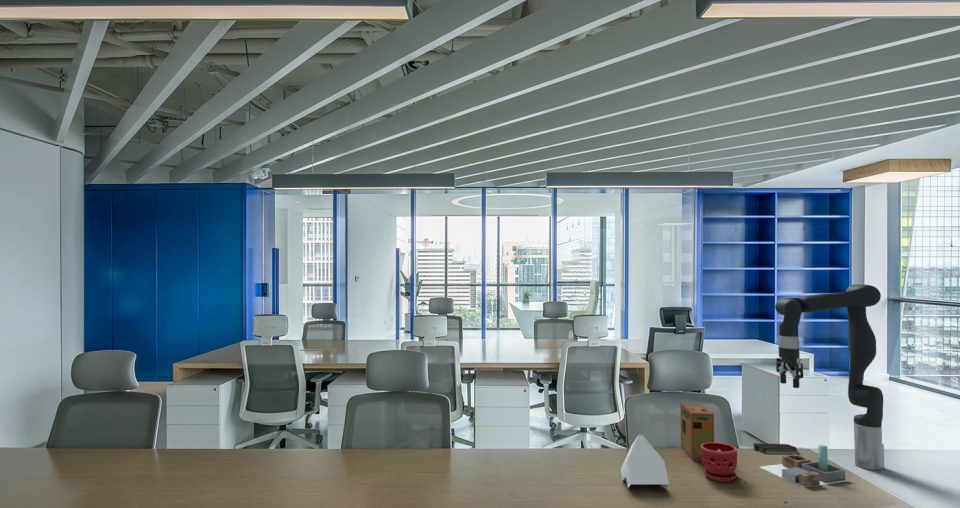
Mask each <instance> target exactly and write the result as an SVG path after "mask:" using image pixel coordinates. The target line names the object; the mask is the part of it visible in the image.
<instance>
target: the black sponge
mask: <svg viewBox="0 0 960 508" xmlns="http://www.w3.org/2000/svg"><path fill="white" fill-rule="evenodd" d="M752 445H753V448H754V450H755V449H756V450H755V451H757V452H760V453H763V454H798V449H797V446H795V445H791V444H788V443H759V442H758V443H755V442H754V443H753V444H752Z"/></svg>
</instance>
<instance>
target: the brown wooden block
mask: <svg viewBox="0 0 960 508" xmlns="http://www.w3.org/2000/svg"><path fill="white" fill-rule="evenodd" d="M799 484H800V485H802V486H804V487H803V488H809V487H808V486H810V487H817V486H816V485H818V486H821V485H820V474H818V473H816V472H807V473H799Z"/></svg>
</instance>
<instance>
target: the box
mask: <svg viewBox="0 0 960 508" xmlns="http://www.w3.org/2000/svg"><path fill="white" fill-rule="evenodd" d="M708 442H715V414H714V413H713V412H712V411H710V410H709V409H708V407H705V406H704V405H703V404H701V403H680V448H681V449H682V450H683V451H684V450H685V451H684V452H685V454H686V455H687V456H688V457H689V458H690V460H691V461H692V460H693V461H694V462H702V457H701V444H703V443H708ZM712 451H713V450H712ZM693 461H692V462H693Z"/></svg>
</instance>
